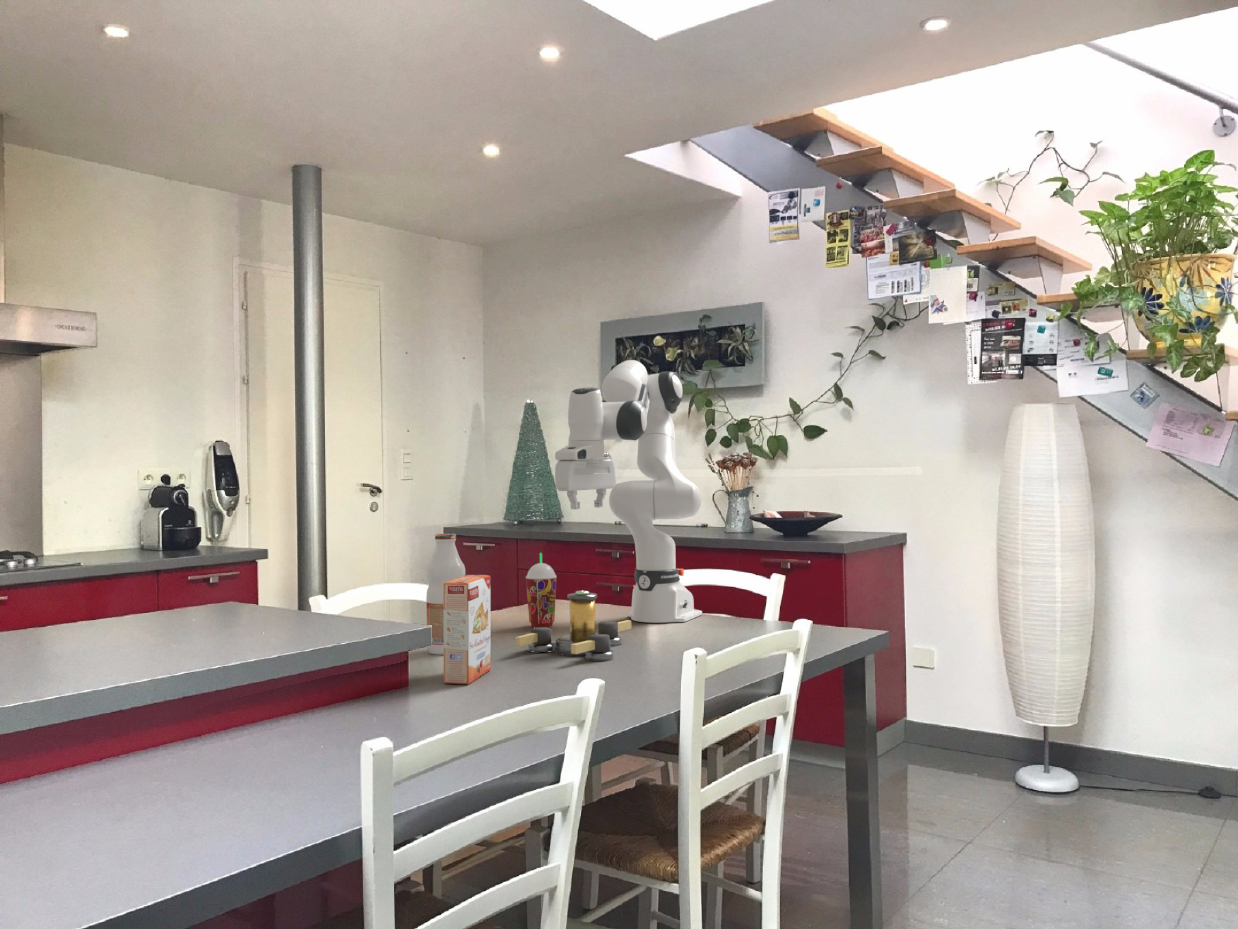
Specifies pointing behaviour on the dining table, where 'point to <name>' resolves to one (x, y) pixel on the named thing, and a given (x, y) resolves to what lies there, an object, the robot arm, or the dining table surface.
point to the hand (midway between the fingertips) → (587, 508)
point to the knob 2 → (592, 644)
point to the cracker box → (466, 628)
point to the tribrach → (579, 629)
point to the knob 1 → (535, 637)
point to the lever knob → (613, 627)
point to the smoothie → (541, 594)
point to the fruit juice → (441, 585)
